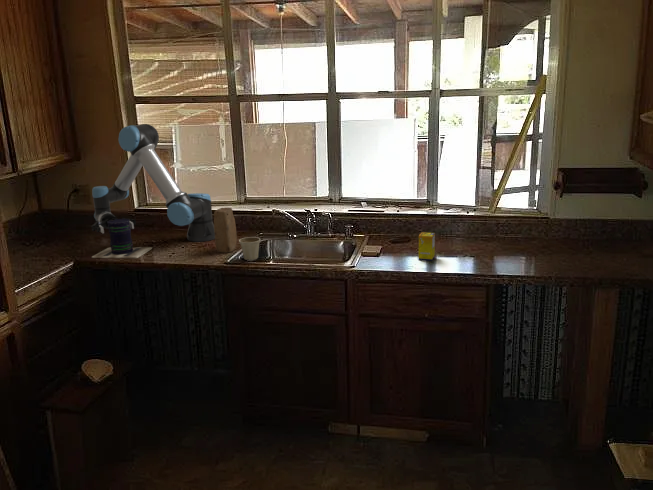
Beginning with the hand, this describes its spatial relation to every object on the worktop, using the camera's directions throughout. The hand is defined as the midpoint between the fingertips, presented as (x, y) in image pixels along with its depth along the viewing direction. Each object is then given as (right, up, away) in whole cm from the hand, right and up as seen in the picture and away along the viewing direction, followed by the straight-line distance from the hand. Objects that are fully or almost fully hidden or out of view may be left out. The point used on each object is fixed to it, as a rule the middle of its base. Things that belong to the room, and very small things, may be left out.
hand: (118, 228), depth 269 cm
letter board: (+1, -12, +2) cm, 12 cm away
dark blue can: (+1, -11, +2) cm, 12 cm away
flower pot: (+64, -14, -13) cm, 67 cm away
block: (+51, -11, +2) cm, 52 cm away
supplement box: (+140, -14, -22) cm, 143 cm away
